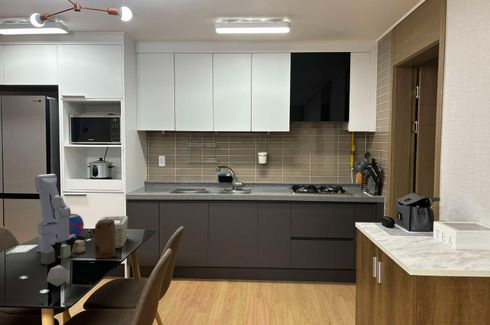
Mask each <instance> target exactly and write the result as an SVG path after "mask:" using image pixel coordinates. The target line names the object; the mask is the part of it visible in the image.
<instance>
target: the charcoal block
mask: <svg viewBox="0 0 490 325" xmlns="http://www.w3.org/2000/svg"><path fill="white" fill-rule="evenodd" d="M40 263H41V264H42V265H50V264H52V263H56V254H55V250H46V251H42V252H40Z"/></svg>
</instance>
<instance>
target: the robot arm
mask: <svg viewBox="0 0 490 325" xmlns="http://www.w3.org/2000/svg"><path fill="white" fill-rule="evenodd" d="M57 177H58V176H57V175H56V174H55V173H49V174H36V176H35V178H34V185H35V190H36V191H38V193H39V202H40V208H41V216H42V219H41V220H40V221H39V222H38V223H37V233H38V238H37V250H36V252H39V253H41V252H42V251H46V250H55V257H57V258H58V257H59V256H60V250H61V245H63V244H61V243H62V242H66V245H70V251H71V253H73V245H74V243H75V241H77V239H76V238H77V237H76V235H75V234H72V235H69V217H70V215H71V214H72V212H71V208H70V207H69V206H68V205H67V204H66V202H65V201H64V198H63V196H61V195H60V194H59V191H58V187H57V183H58V182H57V181H58V178H57ZM52 206H53V209H54V210H55V211H54V217H55V218H54V217H53V212H52V211H53V210H52ZM57 234H58V236H57Z"/></svg>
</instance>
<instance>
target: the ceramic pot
mask: <svg viewBox="0 0 490 325" xmlns="http://www.w3.org/2000/svg"><path fill="white" fill-rule="evenodd" d="M84 226H85V224H84V220H83V218H82V216H81V215H80V214H77V213H71V215H70V217H69V235H72V234H75V235H76V238H77V237H79V236H80V235H81V234H82V233H83V232H84V231H83V230H84V228H85V227H84ZM56 237H58V234H57V235H56Z"/></svg>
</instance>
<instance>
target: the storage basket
mask: <svg viewBox="0 0 490 325" xmlns="http://www.w3.org/2000/svg"><path fill="white" fill-rule="evenodd" d="M105 219H107V220H114V223H115V221H119V222H118V223H115V249H116V248H117V249H118V248H119V249H120V248H122V247H124V245H125V243H126V241H127V239H128V223H129V222H128V221H129V216H127V215H115V216H114V215H112V216H102V217H101V218H100V219H99V220H105ZM95 226H96V224H95ZM95 226H94V227H95Z"/></svg>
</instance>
